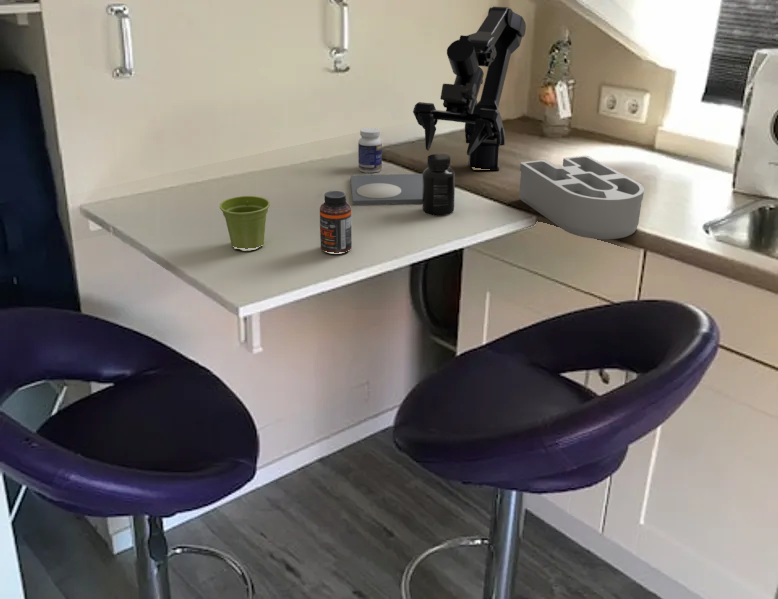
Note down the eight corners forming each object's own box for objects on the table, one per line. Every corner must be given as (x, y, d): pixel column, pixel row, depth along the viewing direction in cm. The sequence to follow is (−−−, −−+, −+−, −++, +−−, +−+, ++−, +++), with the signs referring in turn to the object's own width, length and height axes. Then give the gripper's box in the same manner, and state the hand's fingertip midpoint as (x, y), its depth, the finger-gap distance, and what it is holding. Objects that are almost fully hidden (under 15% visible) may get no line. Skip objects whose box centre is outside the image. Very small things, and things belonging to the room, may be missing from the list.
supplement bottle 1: (314, 252, 164) (312, 195, 159) (332, 241, 168) (330, 186, 163) (340, 258, 161) (338, 201, 156) (357, 248, 166) (357, 191, 161)
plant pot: (277, 252, 164) (274, 209, 160) (227, 258, 161) (224, 215, 157) (266, 235, 172) (264, 193, 168) (219, 240, 169) (215, 199, 165)
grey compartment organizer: (583, 192, 196) (587, 155, 192) (655, 235, 172) (661, 194, 168) (517, 200, 191) (519, 162, 187) (581, 245, 167) (586, 203, 164)
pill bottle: (381, 173, 208) (381, 133, 203) (357, 173, 208) (357, 132, 203) (382, 166, 213) (382, 126, 208) (359, 166, 213) (358, 126, 208)
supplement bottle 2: (459, 208, 185) (461, 154, 180) (446, 218, 180) (447, 163, 175) (430, 203, 188) (431, 150, 183) (416, 213, 183) (417, 158, 177)
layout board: (443, 177, 205) (443, 172, 204) (453, 202, 189) (453, 197, 188) (350, 179, 204) (350, 174, 203) (353, 205, 187) (352, 199, 187)
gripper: (416, 64, 184) (396, 127, 179) (501, 71, 177) (482, 136, 173) (428, 94, 194) (410, 154, 189) (509, 101, 187) (491, 164, 183)
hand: (447, 151), depth 183 cm, fingers open, 9 cm apart
